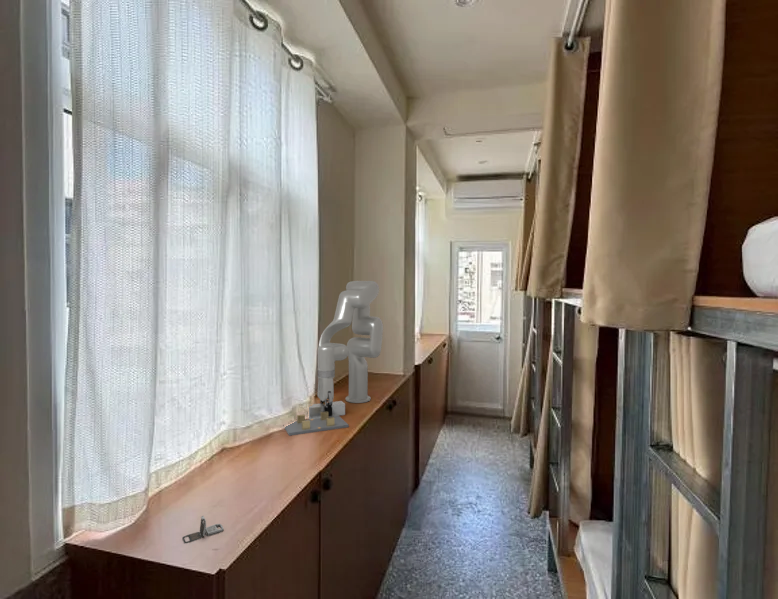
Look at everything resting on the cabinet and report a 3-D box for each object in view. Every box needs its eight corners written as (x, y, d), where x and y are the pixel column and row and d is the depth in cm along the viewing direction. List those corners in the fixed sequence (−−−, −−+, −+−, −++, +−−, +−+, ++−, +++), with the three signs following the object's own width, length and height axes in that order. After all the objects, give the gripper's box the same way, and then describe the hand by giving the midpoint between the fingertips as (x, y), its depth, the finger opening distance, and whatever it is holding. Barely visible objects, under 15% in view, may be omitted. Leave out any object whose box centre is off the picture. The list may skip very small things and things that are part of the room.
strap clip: (221, 526, 100) (221, 508, 100) (224, 532, 97) (224, 514, 97) (181, 538, 95) (181, 520, 95) (184, 545, 92) (184, 526, 92)
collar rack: (282, 425, 171) (282, 415, 171) (338, 417, 181) (338, 408, 181) (289, 435, 159) (289, 425, 159) (348, 427, 169) (348, 417, 169)
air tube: (306, 416, 183) (306, 404, 183) (341, 411, 190) (341, 400, 190) (309, 419, 179) (309, 407, 179) (345, 415, 186) (345, 403, 185)
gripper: (312, 370, 190) (312, 409, 191) (323, 378, 174) (323, 420, 175) (328, 369, 193) (328, 407, 194) (340, 377, 178) (340, 418, 178)
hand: (326, 413), depth 184 cm, fingers open, 6 cm apart
